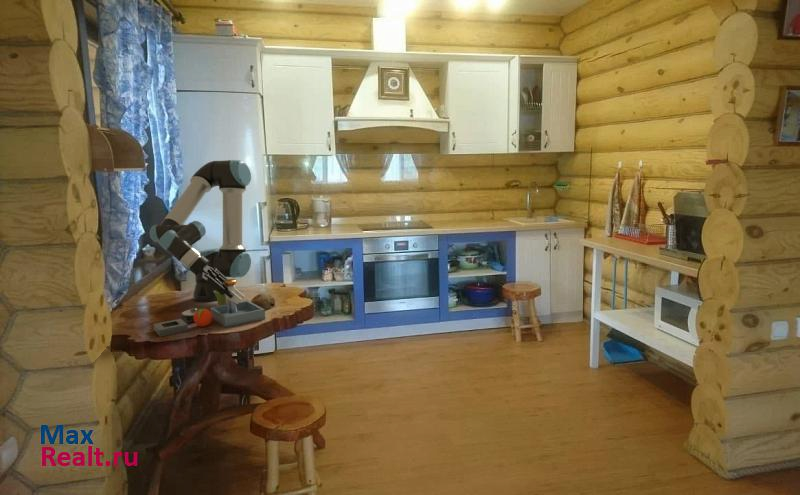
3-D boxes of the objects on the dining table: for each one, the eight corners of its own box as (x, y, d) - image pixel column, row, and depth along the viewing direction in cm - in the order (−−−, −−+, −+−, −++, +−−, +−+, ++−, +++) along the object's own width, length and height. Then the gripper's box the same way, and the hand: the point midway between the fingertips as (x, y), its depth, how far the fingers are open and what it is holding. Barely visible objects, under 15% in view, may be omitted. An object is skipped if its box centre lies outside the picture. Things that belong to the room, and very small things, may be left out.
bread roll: (264, 318, 209) (271, 302, 207) (244, 308, 210) (250, 292, 208) (275, 312, 218) (281, 296, 216) (255, 302, 219) (261, 286, 218)
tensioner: (149, 325, 192) (148, 314, 192) (202, 314, 205) (201, 304, 204) (160, 336, 178) (158, 325, 177) (216, 324, 190) (215, 313, 190)
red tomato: (209, 329, 185) (207, 311, 184) (190, 330, 184) (188, 312, 183) (215, 322, 193) (214, 305, 192) (197, 323, 192) (196, 306, 191)
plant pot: (213, 308, 213) (211, 289, 212) (235, 305, 218) (234, 286, 216) (217, 313, 205) (215, 294, 204) (240, 310, 210) (238, 290, 208)
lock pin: (223, 311, 197) (220, 280, 195) (236, 309, 200) (233, 278, 198) (228, 314, 193) (225, 282, 191) (240, 312, 196) (238, 280, 194)
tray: (210, 317, 201) (210, 307, 200) (248, 309, 210) (247, 300, 210) (225, 327, 187) (224, 317, 186) (265, 318, 196) (264, 309, 196)
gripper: (196, 264, 201) (240, 301, 205) (181, 273, 184) (229, 313, 188) (208, 251, 201) (252, 288, 204) (194, 258, 184) (242, 299, 188)
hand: (240, 300), depth 196 cm, fingers closed on lock pin, 4 cm apart
